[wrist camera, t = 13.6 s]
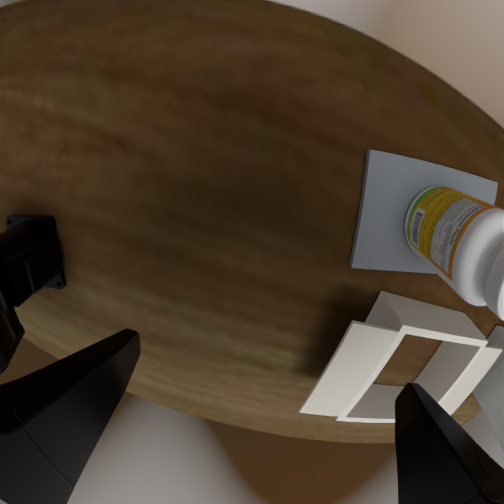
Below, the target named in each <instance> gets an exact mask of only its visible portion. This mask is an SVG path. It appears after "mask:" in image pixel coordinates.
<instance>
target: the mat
mask: <svg viewBox="0 0 504 504" xmlns="http://www.w3.org/2000/svg"><path fill="white" fill-rule="evenodd" d="M433 186H445V187H448V188H451V189H454V190H457V191H459V192H462V193H465V194H467V195H469V196H472V197H474V198H477V199H479V200H482V201H484V202H487V203H489V204H491V205H494V203H495V198H496V193H497V186H498V183H497V182H494V181H491V180H488V179H485V178H482V177H479V176H476V175H473V174H469V173H466V172H463V171H459V170H456V169H453V168H449V167H445V166H442V165H438V164H434V163H430V162H426V161H422V160H418V159H414V158H410V157H405V156H401V155H396V154H391V153H386V152H381V151H376V150H371V149H367V154H366V163H365V172H364V180H363V187H362V194H361V201H360V208H359V214H358V220H357V226H356V232H355V237H354V243H353V248H352V253H351V258H350V263H349V265H350V267H351V268H358V269H373V270H388V271H403V272H419V273H435V274H437V273H436V272H435V271H434V270H433V269H432V268H430V267H429V266H428V265H427V264H426V263H425V262H424V261H423V260H422V259H421V258H420V257H418V256H417V255H416V254H415V253H414V252H413V250H412V249H411V248H410V246H409V244H408V242H407V239H406V235H405V220H406V216H407V212H408V210H409V207H410V205H411V203H412V202H413V200H414V199H415V198H416V197H417V195H418V194H420V193H421V192H422V191H424V190H425V189H427V188H429V187H433Z"/></svg>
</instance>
